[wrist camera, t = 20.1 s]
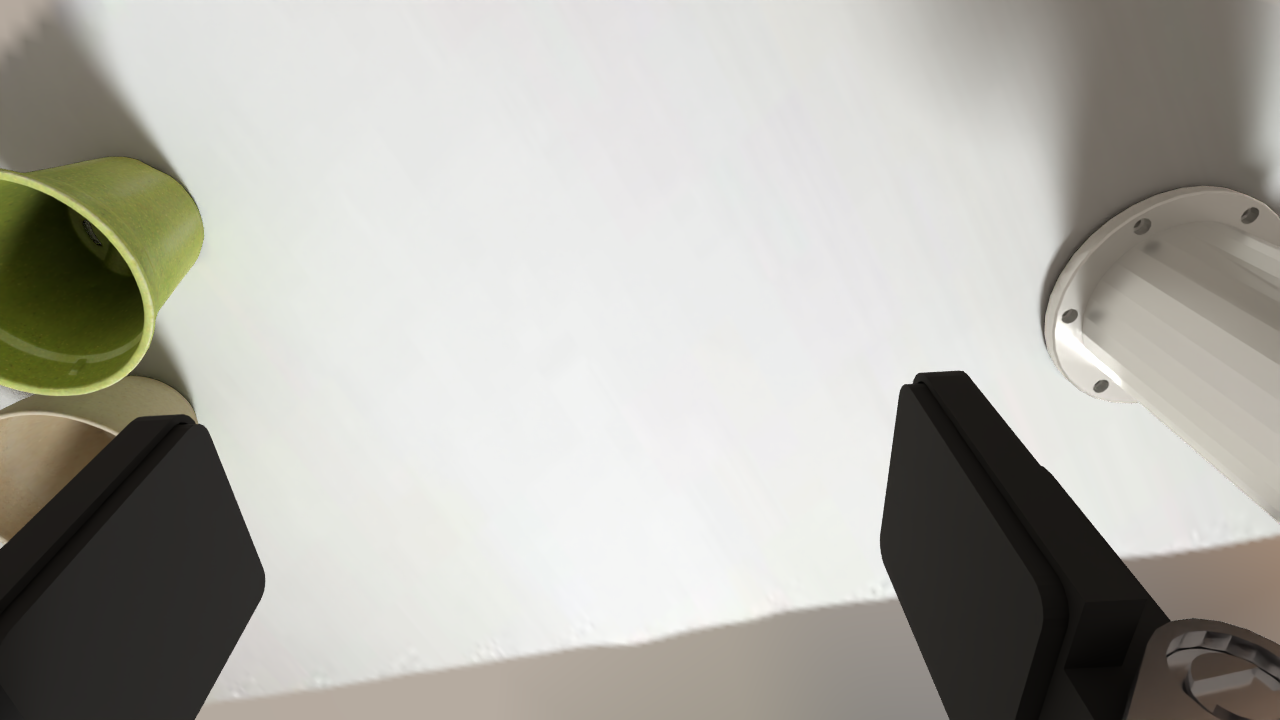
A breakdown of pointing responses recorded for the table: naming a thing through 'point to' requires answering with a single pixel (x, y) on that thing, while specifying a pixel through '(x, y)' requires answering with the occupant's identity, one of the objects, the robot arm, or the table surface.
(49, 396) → the flower pot
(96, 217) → the plant pot
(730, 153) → the table surface
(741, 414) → the table surface
